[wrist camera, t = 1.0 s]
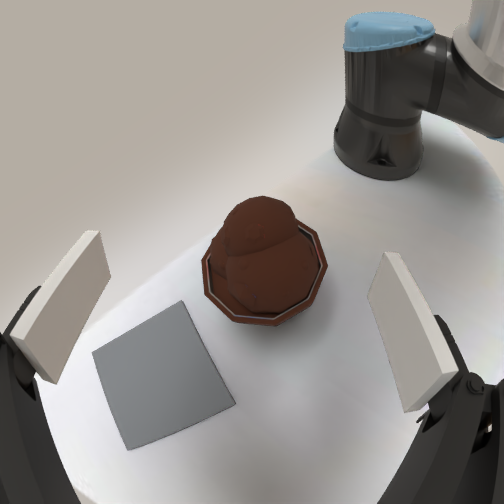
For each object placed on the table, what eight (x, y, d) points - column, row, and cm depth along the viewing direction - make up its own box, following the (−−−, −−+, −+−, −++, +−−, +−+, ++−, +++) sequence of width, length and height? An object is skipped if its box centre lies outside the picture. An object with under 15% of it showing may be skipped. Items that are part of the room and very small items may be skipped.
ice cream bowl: (213, 288, 35) (158, 214, 22) (292, 244, 36) (279, 152, 23) (253, 365, 29) (208, 330, 17) (341, 313, 31) (362, 241, 18)
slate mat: (183, 301, 35) (181, 300, 34) (236, 403, 28) (234, 403, 27) (94, 353, 33) (91, 352, 33) (130, 450, 26) (127, 450, 25)
